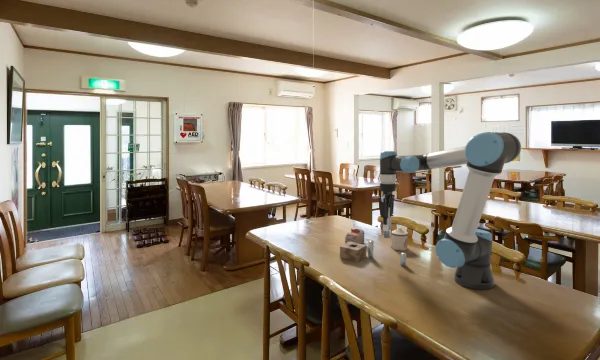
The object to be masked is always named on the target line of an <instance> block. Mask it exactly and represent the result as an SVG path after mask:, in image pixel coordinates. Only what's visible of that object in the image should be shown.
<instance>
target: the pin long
mask: <svg viewBox="0 0 600 360" xmlns="http://www.w3.org/2000/svg"><path fill="white" fill-rule="evenodd" d="M388 218H389V231H383V233H384V234H383V239H390V233H391V232H390V231H391V230H390V208H389V210H388Z"/></svg>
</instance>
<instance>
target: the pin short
mask: <svg viewBox="0 0 600 360" xmlns="http://www.w3.org/2000/svg"><path fill="white" fill-rule="evenodd" d="M406 265H407V252H403V251H402V252H400V266H401V267H407V266H406Z"/></svg>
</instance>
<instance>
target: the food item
mask: <svg viewBox="0 0 600 360" xmlns="http://www.w3.org/2000/svg"><path fill="white" fill-rule="evenodd" d="M348 242H354V243H359V244H364V243H365V231H364V230H363V229H360V228H354V229H353V228H350V232H347V234H346V235H345V237H344V244H346V243H348Z"/></svg>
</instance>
